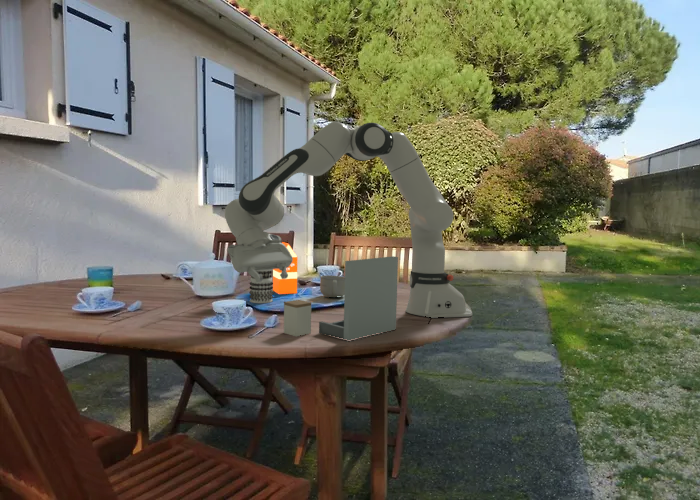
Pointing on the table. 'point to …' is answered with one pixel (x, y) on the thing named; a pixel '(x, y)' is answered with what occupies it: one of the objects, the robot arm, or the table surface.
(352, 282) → the wall board
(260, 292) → the decorative candle
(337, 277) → the teacup
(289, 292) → the orange juice
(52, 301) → the table surface
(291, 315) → the grey tea canister
